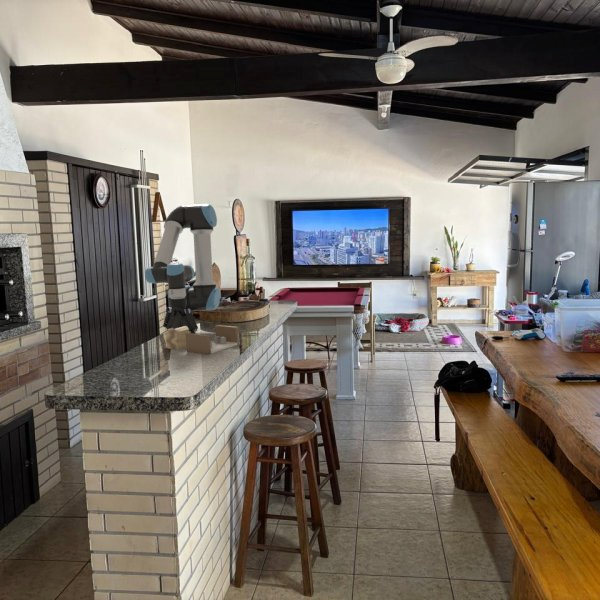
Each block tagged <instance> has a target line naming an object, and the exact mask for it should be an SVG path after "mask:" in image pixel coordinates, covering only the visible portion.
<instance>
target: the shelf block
mask: <svg viewBox="0 0 600 600" xmlns="http://www.w3.org/2000/svg"><path fill="white" fill-rule="evenodd" d="M188 331H189V329H188V327H187V326H183V327H180V328H176V329H172V330H168V331H167V330H165V331H164V332H165V340H166V341H165V343H166V344H165V345H166V349H171V350H177V351H178V350H181V349H184V348H187V346H186V333H188ZM195 334H197V330H195Z"/></svg>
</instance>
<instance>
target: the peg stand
mask: <svg viewBox="0 0 600 600" xmlns="http://www.w3.org/2000/svg"><path fill="white" fill-rule="evenodd" d="M214 333H215V336H213V339H214V340H211V339H210V337H211V336H210V335H209V334H200V333H196V334H193V333H186V346H187V347H186V352H188V353H195V354H204V355H212V354H214V353H217V352H220V351H224V350H225V349H226V350H227V349H229V348H232V347H236V346H238V345H240V336H239V335H240V333H239V326H235V325H233V326H232V325H221V324H215V325H214Z"/></svg>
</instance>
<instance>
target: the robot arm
mask: <svg viewBox="0 0 600 600" xmlns="http://www.w3.org/2000/svg"><path fill="white" fill-rule="evenodd" d="M217 224H218V219H217V214H216V210H215V209H214V207H213V205H211V204H209V203H198V204H185V205H180V206H177V207H175V208H174V209H173V210H172V211H171V212H170V213H169V214H168V216H167V217H166V219H165V221H164V224H163V228H164V230H163V234H162V237H161V241H160V243H159V246H158V250H157V253H156V255H155V259H154V262H153V264H152V266H150V267H146V269H145V271H144V277H145V280H146V283H149V284H167V286H168V287H167V288H168V291H167V299H168V301H167V302H168V307H166V308H165V309H166V313H165V317H164V321H163V324H162V327H163V328H165V329H166V331H168V330H172V329H176V328H180V327H183V326H187V327H188V329H189V331H188V333H193V334H195V330H196V331H197V330H198V329H199V327H198V324H197V322H196V319H195V317H194V315H193V312H194V311H195V312H196V311H214V310H216V309H217V308H218V307H219V305H220V302H221V290H220V287H217V283H216V282H215V281H214V277H213V276H214V275H213V261H212V260H213V259H212V255H213V254H212V240H211V234H212V233H213V232H214V228H215V227H217ZM184 229H189V231H190V233H192V235H193V249H194V251H193V252H194V268H193V267H192V266H190V265H185V264H183V263H180V262H179V263H178V262H177V263H172V260H173V257H174V253H175V250H176V247H177V244H178V241H179V237H180V235H181V234H182V233H183V231H184ZM194 277H195V282H194V283H193V285H192V287H191V286H190V285H189V284H188V285H186V282H190V281H191V280H193V279H194Z"/></svg>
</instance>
